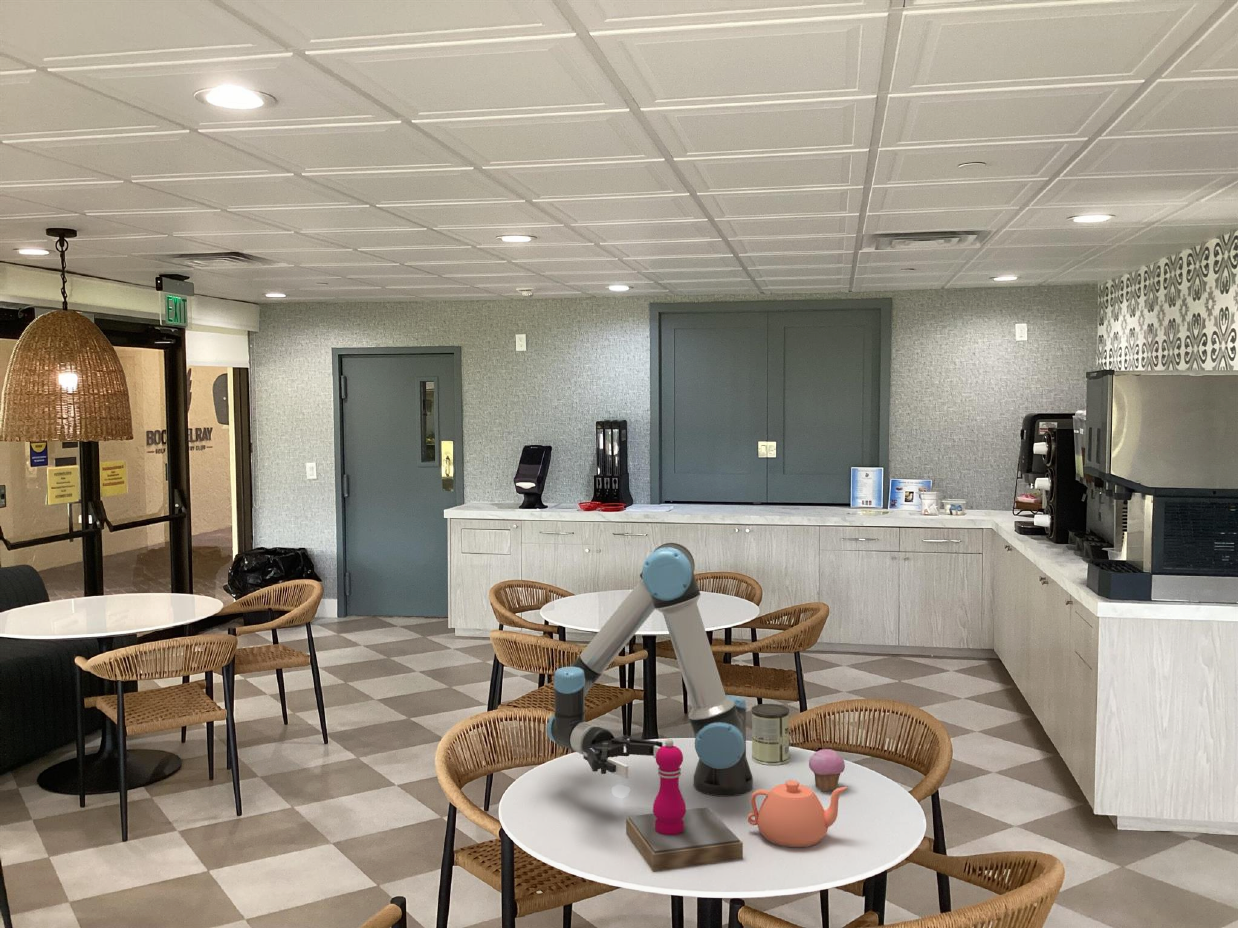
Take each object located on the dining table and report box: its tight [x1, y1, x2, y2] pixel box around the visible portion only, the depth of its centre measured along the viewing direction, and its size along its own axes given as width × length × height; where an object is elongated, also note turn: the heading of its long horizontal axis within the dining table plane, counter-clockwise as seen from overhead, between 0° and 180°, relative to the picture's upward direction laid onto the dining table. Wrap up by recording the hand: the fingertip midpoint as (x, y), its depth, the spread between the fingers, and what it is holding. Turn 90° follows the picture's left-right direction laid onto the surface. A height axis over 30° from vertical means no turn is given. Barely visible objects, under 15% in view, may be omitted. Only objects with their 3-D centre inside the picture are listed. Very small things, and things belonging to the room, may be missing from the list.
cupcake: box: [808, 748, 846, 792], centre depth 250 cm, size 9×9×10 cm
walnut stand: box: [625, 806, 744, 872], centre depth 217 cm, size 20×20×4 cm
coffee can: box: [750, 703, 790, 766], centre depth 272 cm, size 10×10×14 cm
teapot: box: [747, 779, 848, 848], centre depth 221 cm, size 22×16×12 cm
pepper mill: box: [652, 738, 687, 835], centre depth 216 cm, size 7×7×20 cm
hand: (650, 765), depth 220 cm, fingers open, 13 cm apart
